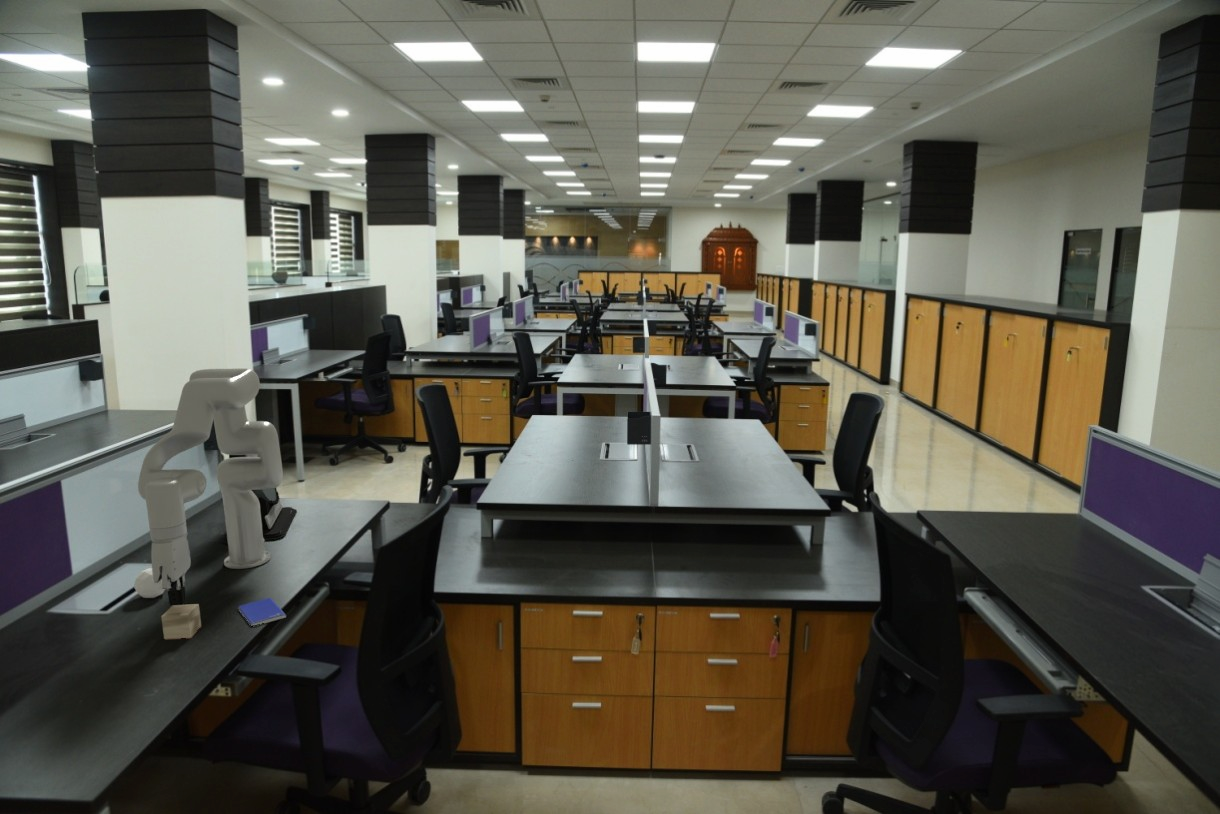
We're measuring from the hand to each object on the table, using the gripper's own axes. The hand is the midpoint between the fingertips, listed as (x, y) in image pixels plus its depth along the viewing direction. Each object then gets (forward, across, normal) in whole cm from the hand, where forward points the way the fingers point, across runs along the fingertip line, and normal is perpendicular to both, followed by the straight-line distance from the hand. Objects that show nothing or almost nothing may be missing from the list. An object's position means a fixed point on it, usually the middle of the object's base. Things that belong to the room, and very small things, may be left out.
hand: (178, 603), depth 186 cm
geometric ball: (+8, -23, -17) cm, 30 cm away
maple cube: (+2, 0, 0) cm, 2 cm away
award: (+9, -76, -6) cm, 77 cm away
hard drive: (+9, -9, +16) cm, 20 cm away
